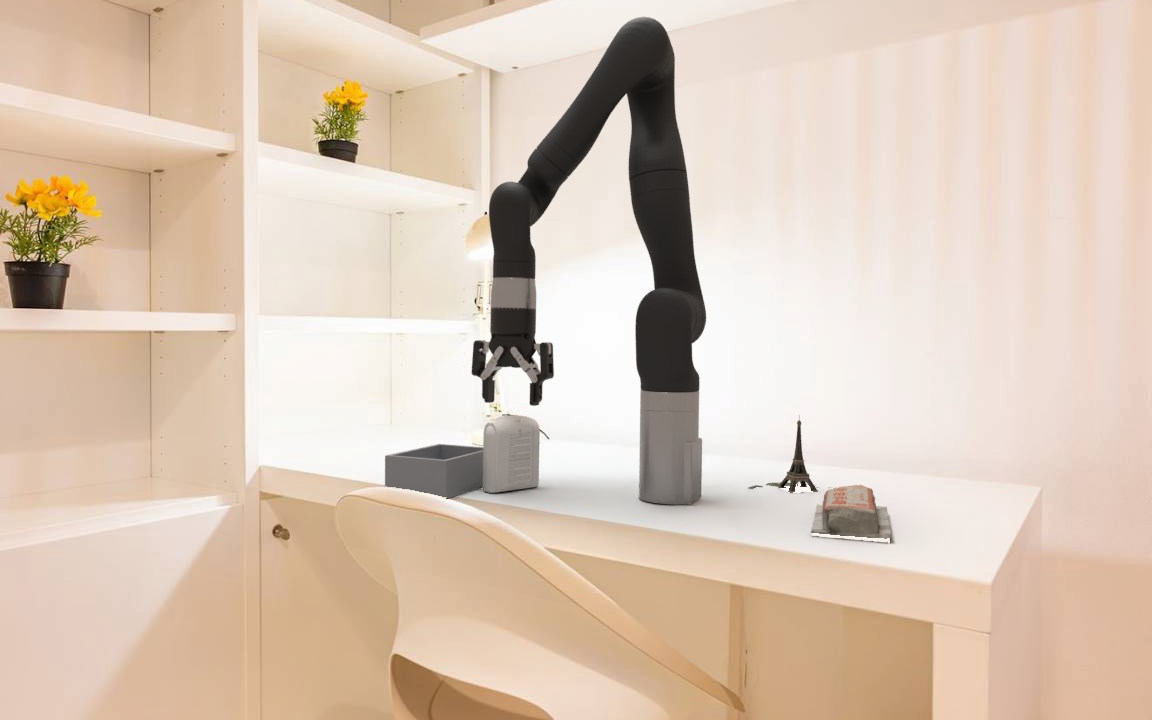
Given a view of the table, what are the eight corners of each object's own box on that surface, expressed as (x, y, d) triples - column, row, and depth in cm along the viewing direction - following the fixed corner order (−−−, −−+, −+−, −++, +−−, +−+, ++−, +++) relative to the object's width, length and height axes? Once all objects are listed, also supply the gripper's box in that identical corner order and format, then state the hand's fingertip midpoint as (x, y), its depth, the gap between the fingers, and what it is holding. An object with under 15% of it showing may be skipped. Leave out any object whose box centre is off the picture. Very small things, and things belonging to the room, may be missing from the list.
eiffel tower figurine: (853, 493, 136) (855, 415, 136) (834, 503, 128) (836, 420, 128) (769, 483, 145) (771, 409, 145) (746, 491, 137) (747, 413, 137)
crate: (495, 482, 140) (495, 448, 140) (445, 499, 126) (446, 460, 125) (438, 477, 144) (439, 443, 144) (384, 492, 130) (385, 455, 130)
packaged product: (893, 509, 101) (811, 503, 105) (892, 547, 101) (810, 540, 105) (887, 484, 118) (817, 480, 122) (887, 517, 119) (816, 511, 122)
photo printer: (526, 483, 139) (527, 412, 139) (542, 487, 136) (543, 414, 136) (478, 491, 132) (479, 416, 132) (494, 495, 129) (495, 418, 129)
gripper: (562, 307, 134) (559, 404, 134) (487, 306, 140) (485, 399, 140) (541, 306, 127) (539, 408, 128) (464, 305, 133) (462, 403, 133)
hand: (511, 403), depth 134 cm, fingers open, 8 cm apart
